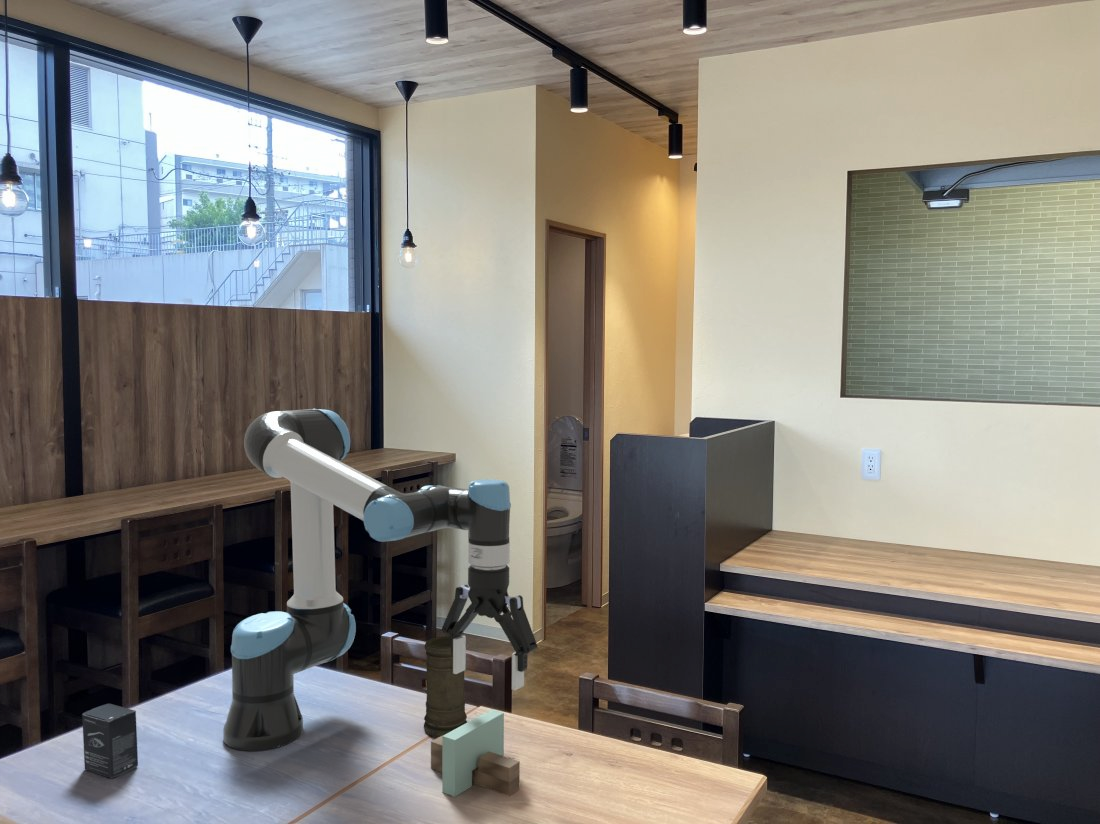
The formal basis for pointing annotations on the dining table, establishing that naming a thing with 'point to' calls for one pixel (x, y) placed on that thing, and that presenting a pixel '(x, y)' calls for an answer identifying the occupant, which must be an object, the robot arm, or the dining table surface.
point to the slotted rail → (486, 770)
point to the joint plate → (470, 749)
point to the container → (443, 689)
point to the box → (110, 740)
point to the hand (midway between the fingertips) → (487, 679)
